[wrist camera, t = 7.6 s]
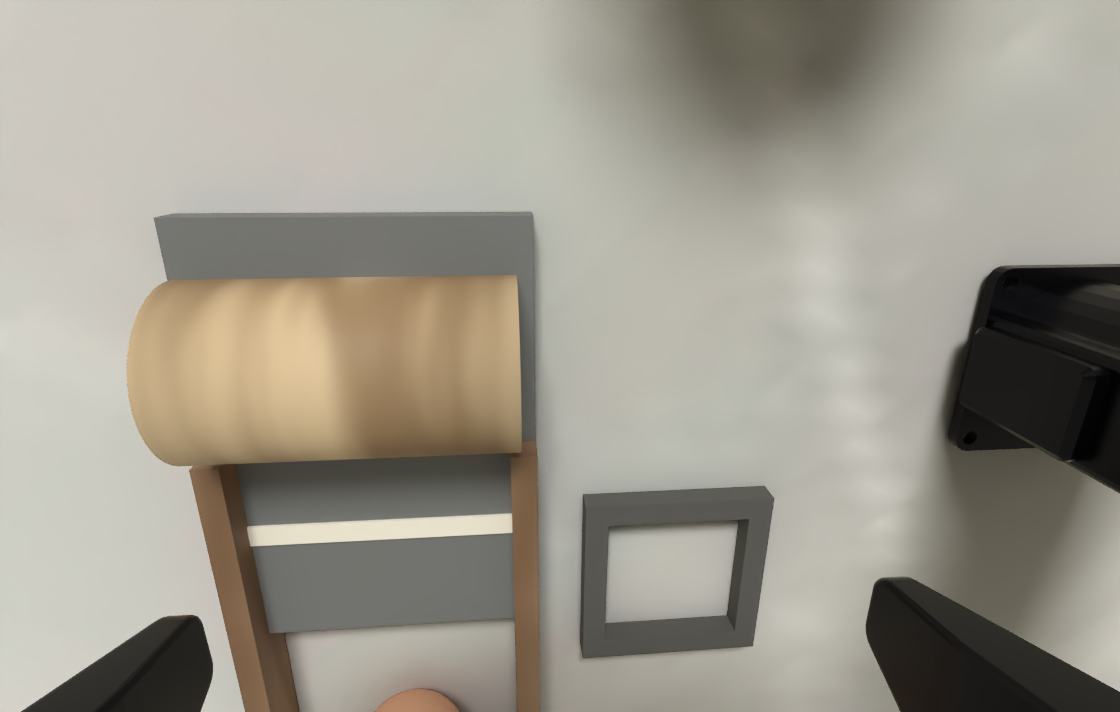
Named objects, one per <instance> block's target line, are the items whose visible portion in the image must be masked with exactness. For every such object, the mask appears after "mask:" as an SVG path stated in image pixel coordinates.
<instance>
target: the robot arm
mask: <svg viewBox="0 0 1120 712" xmlns="http://www.w3.org/2000/svg"><path fill="white" fill-rule="evenodd" d="M1006 278H1008V282H1007V284H1006V285H1005V286H1004V287H1003V283H1004V281H1005V279H1006ZM968 432H969V433H968ZM967 433H968V434H967ZM965 434H967V436H966V437H965V438H963V437H964V436H965ZM948 438H949V441H950V442H951V443H952V444H954V445H955V446H957V447H958V448H960V449H961V450H965V451H971V450H995V449H1018V448H1038V449H1040V450H1041V451H1043V452H1045V453H1047V454H1048V455H1050V456H1052V457H1054V458H1055V459H1057V460H1059V461H1063V462H1065V463H1067V464H1068V465H1070V466H1072V467H1074V468H1076V469H1077V470H1079V471H1081V472H1083V473H1084V474H1086V475H1088V476H1090V477H1092V478H1093V479H1095V480H1097V481H1099V482H1100V483H1102V484H1104V485H1106V486H1108V487H1109V488H1111V489H1113V490H1115V491H1116V492H1118V493H1120V264H1094V265H1021V266H1001V267H998V268H996V269H995V270H993V271H992V272H991V273H990V275H989V276H988V278H987V281H986V284H985V288H984V293H983V297H982V301H981V305H980V309H979V313H978V317H977V321H976V325H975V329H974V333H973V337H972V341H971V345H970V349H969V353H968V357H967V361H966V365H965V369H964V373H963V377H962V381H961V385H960V389H959V393H958V397H957V401H956V405H955V409H954V413H953V417H952V421H951V425H950V429H949V434H948ZM866 635H867V639H868V642H869V645H870V647H871V649H872V651H873V654H874V656H875V658H876V660H877V662H878V664H879V667H880V669H881V671H882V673H883V675H884V677H885V679H886V682H887V684H888V686H889V688H890V690H891V692H892V695H893V697H894V699H895V701H896V703H897V705H898V707H899V710H900V712H1120V692H1119V691H1117V690H1115V689H1113V688H1111V687H1110V686H1108V685H1106V684H1104V683H1102V682H1101V681H1099V680H1097V679H1095V678H1093V677H1091V676H1090V675H1088V674H1086V673H1084V672H1082V671H1080V670H1079V669H1077V668H1075V667H1073V666H1071V665H1069V664H1068V663H1066V662H1064V661H1062V660H1060V659H1058V658H1057V657H1055V656H1053V655H1051V654H1049V653H1047V652H1046V651H1044V650H1042V649H1040V648H1038V647H1037V646H1035V645H1033V644H1031V643H1029V642H1027V641H1026V640H1024V639H1022V638H1020V637H1018V636H1016V635H1015V634H1013V633H1011V632H1009V631H1007V630H1005V629H1004V628H1002V627H1000V626H998V625H996V624H994V623H993V622H991V621H989V620H987V619H985V618H983V617H982V616H980V615H978V614H976V613H974V612H973V611H971V610H969V609H967V608H965V607H963V606H962V605H960V604H958V603H956V602H954V601H952V600H951V599H949V598H947V597H945V596H943V595H941V594H940V593H938V592H936V591H934V590H932V589H930V588H929V587H927V586H925V585H923V584H921V583H920V582H918V581H916V580H914V579H912V578H909V577H886V578H880V579H878V580H877V581H876V583H875V584H874V587H873V592H872V596H871V601H870V606H869V611H868V616H867V621H866ZM212 675H213V662H212V658H211V654H210V650H209V646H208V643H207V639H206V635H205V631H204V627H203V624H202V622H201V620H200V619H199V617H197V616H194V615H181V616H167V617H163V618H160V619H159V620H157V621H155V622H154V623H152V624H151V625H149V626H148V627H146V628H145V629H143V630H142V631H140V632H139V633H137V634H136V635H134V636H133V637H131V638H130V639H128V640H127V641H125V642H124V643H123V644H121V645H120V646H118V647H117V648H115V649H114V650H112V651H111V652H109V653H108V654H106V655H105V656H103V657H102V658H100V659H99V660H97V661H96V662H94V663H93V664H91V665H90V666H88V667H87V668H85V669H84V670H82V671H81V672H79V673H78V674H76V675H75V676H73V677H72V678H70V679H69V680H67V681H66V682H64V683H63V684H62V685H60V686H59V687H57V688H56V689H54V690H53V691H51V692H50V693H48V694H47V695H45V696H44V697H42V698H41V699H39V700H38V701H36V702H35V703H33V704H32V705H30V706H29V707H27V708H26V709H24V710H23V711H21V712H200V711H201V709H202V706H203V703H204V701H205V698H206V695H207V692H208V690H209V687H210V684H211V680H212Z"/></svg>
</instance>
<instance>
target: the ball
mask: <svg viewBox="0 0 1120 712" xmlns="http://www.w3.org/2000/svg"><path fill="white" fill-rule="evenodd" d="M375 712H460V711H459V710H458V709H457V707H456V706H455V705H454V704H453V703H452V702H451V701H450V700H449V699H448V698H446V697H445V696H443V695H442V694H440V693H438V692H435V691H432V690H427V689H412V690H407V691H404V692H401V693H398V694H396V695H394V696H392V697H391V698H389V699H388V700H386V701H385V702H384V703H383V704H381V705H380V706H379V707H378V708H377V709H376V710H375Z"/></svg>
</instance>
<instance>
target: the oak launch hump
mask: <svg viewBox="0 0 1120 712" xmlns="http://www.w3.org/2000/svg"><path fill="white" fill-rule="evenodd" d="M127 386H128V395H129V401H130V406H131V410H132V414H133V417H134V420H135V423H136V426H137V428H138V430H139V433H140V435H141V437H142V438H143V440H144V442H145V444H146V445H147V446H148V448H149V449H150V450H151V452H152V453H153V454H154V455H155V456H156V457H158V458H159V459H160V460H162V461H163V462H165V463H167V464H170V465H173V466H196V465H222V464H247V463H272V462H297V461H322V460H347V459H372V458H397V457H422V456H447V455H472V454H497V453H521V450H522V417H521V368H520V333H519V305H518V284H517V275H469V276H398V277H327V278H256V279H184V280H170V281H166V282H164V283H162V284H161V285H159V286H158V287H156V288H155V289H154V290H153V291H152V292H151V293H150V294H149V296H148V297H147V298H146V299H145V301H144V303H143V304H142V306H141V308H140V310H139V312H138V314H137V316H136V319H135V322H134V325H133V328H132V332H131V336H130V341H129V347H128V355H127Z"/></svg>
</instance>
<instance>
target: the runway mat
mask: <svg viewBox="0 0 1120 712" xmlns="http://www.w3.org/2000/svg"><path fill="white" fill-rule="evenodd" d="M154 221H155V226H156V230H157V235H158V239H159V244H160V248H161V253H162V257H163V262H164V267H165V271H166V276H167V280H168V281H170V280H184V279H256V278H327V277H398V276H469V275H517V284H518V305H519V333H520V368H521V417H522V441H535V351H534V256H533V214H532V212H413V213H209V214H170V215H165V216H160V217H155V218H154ZM236 469H237V474H238V479H239V484H240V489H241V494H242V499H243V504H244V509H245V514H246V519H247V523H248V527H247V532H248V537H249V542H250V546H252V548H253V553H254V558H255V563H256V568H257V573H258V578H259V583H260V588H261V593H262V598H263V603H264V608H265V613H266V618H267V622H268V627H269V632H270V633H284V632H300V631H316V630H331V629H347V628H362V627H378V626H394V625H409V624H425V623H441V622H456V621H472V620H487V619H503V618H515V607H514V569H513V531H512V494H511V455H510V453H497V454H472V455H447V456H422V457H397V458H372V459H347V460H322V461H297V462H272V463H247V464H236Z"/></svg>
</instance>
